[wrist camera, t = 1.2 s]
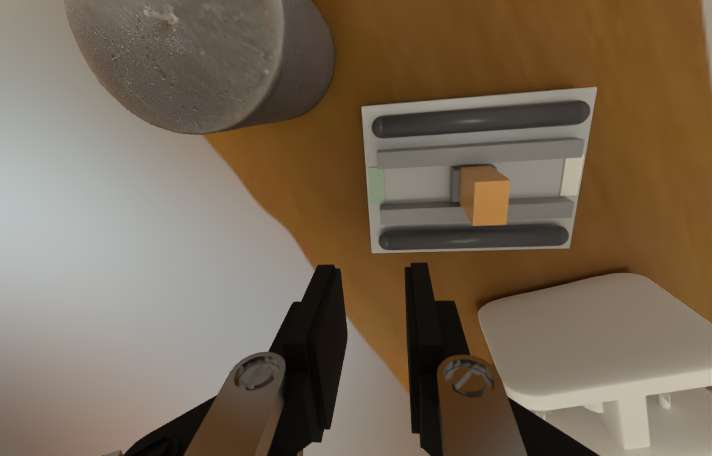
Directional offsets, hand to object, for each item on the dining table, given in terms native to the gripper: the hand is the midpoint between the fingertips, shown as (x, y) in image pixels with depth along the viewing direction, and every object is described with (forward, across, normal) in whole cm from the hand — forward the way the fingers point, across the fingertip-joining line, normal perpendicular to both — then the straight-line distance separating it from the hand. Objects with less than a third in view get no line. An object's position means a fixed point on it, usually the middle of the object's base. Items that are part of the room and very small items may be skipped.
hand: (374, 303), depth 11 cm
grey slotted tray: (+19, -6, 0) cm, 20 cm away
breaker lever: (+16, -6, 0) cm, 17 cm away
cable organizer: (+19, -16, +16) cm, 30 cm away
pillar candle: (+19, +8, -10) cm, 23 cm away
